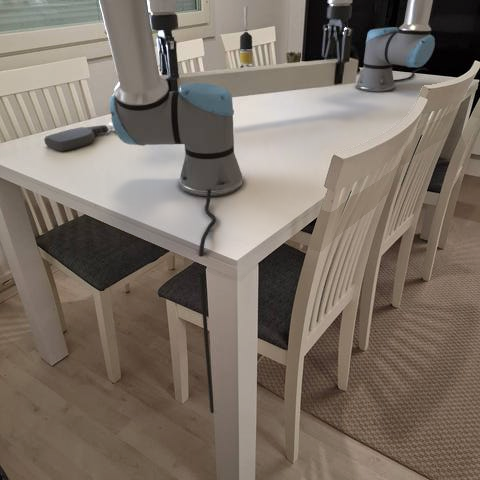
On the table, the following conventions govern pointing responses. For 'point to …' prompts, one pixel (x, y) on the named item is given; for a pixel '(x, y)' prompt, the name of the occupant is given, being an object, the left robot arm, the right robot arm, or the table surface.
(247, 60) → the filter
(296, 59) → the cup
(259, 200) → the table surface
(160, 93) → the left robot arm
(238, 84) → the bar
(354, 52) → the squiggle
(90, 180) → the table surface
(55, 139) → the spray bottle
